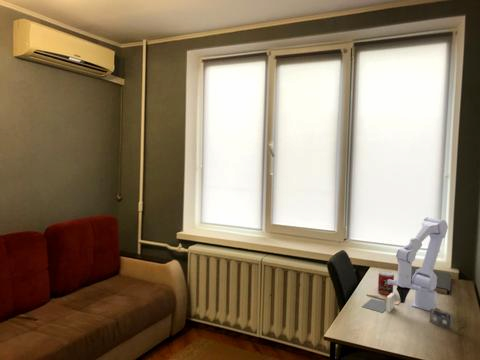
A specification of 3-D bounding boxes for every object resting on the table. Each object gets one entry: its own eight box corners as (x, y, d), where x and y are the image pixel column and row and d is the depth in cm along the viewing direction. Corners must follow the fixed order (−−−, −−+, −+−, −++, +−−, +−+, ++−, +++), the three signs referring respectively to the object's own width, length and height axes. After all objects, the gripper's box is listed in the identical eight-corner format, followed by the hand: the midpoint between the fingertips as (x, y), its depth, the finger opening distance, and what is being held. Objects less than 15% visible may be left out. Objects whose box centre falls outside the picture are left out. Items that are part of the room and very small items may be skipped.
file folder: (409, 265, 242) (451, 273, 230) (408, 271, 242) (451, 279, 230) (402, 279, 214) (449, 288, 201) (401, 286, 214) (449, 296, 202)
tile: (394, 307, 182) (394, 293, 181) (389, 312, 176) (390, 297, 176) (390, 306, 183) (391, 292, 182) (385, 311, 177) (386, 296, 177)
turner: (400, 302, 189) (400, 300, 189) (397, 305, 185) (397, 303, 185) (368, 294, 199) (369, 292, 199) (365, 296, 195) (365, 295, 195)
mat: (391, 304, 186) (391, 303, 186) (382, 312, 175) (382, 312, 175) (371, 298, 192) (371, 298, 192) (361, 306, 181) (361, 306, 181)
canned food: (377, 294, 199) (378, 274, 198) (377, 289, 206) (379, 269, 206) (392, 296, 196) (394, 276, 195) (392, 291, 204) (394, 271, 203)
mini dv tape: (450, 327, 162) (451, 314, 161) (449, 328, 161) (450, 315, 160) (431, 321, 168) (431, 308, 167) (429, 322, 167) (430, 309, 166)
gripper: (386, 272, 176) (384, 300, 177) (418, 279, 167) (417, 309, 168) (390, 269, 182) (389, 296, 183) (422, 276, 173) (420, 304, 173)
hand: (402, 302), depth 176 cm, fingers closed
